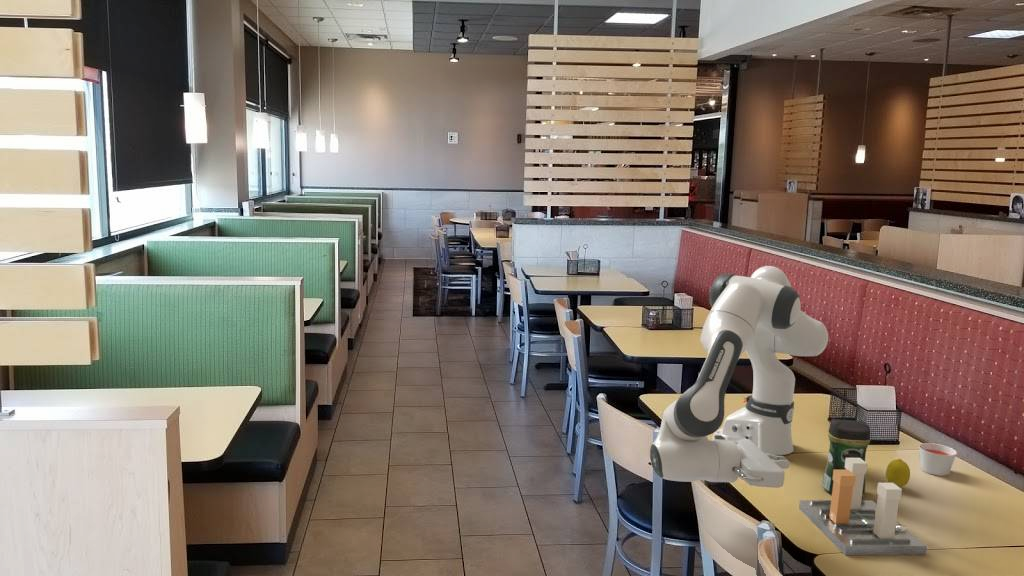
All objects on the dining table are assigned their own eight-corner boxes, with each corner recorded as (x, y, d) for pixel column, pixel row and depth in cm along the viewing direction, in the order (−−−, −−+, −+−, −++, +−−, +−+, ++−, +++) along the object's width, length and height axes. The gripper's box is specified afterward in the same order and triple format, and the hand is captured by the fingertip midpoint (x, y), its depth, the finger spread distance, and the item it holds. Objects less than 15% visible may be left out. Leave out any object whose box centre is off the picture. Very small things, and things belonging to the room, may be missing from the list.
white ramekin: (917, 474, 213) (920, 451, 211) (914, 462, 221) (917, 440, 220) (955, 480, 209) (958, 457, 208) (951, 468, 218) (954, 446, 216)
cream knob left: (847, 509, 183) (853, 463, 181) (840, 503, 187) (845, 457, 185) (861, 509, 184) (867, 463, 182) (853, 503, 187) (859, 457, 185)
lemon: (910, 494, 199) (914, 464, 198) (887, 491, 200) (891, 461, 199) (904, 485, 204) (908, 456, 203) (881, 482, 205) (885, 453, 204)
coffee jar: (857, 486, 203) (866, 417, 199) (867, 499, 195) (876, 427, 192) (818, 483, 204) (826, 414, 200) (826, 496, 196) (835, 424, 193)
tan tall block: (835, 524, 176) (841, 475, 174) (827, 517, 179) (833, 469, 177) (849, 524, 176) (855, 475, 174) (842, 517, 179) (848, 469, 177)
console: (845, 555, 167) (846, 541, 166) (798, 508, 188) (800, 496, 188) (925, 554, 168) (927, 541, 168) (870, 508, 190) (872, 496, 190)
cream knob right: (880, 539, 170) (886, 489, 168) (871, 531, 173) (878, 482, 171) (895, 539, 170) (902, 489, 168) (886, 531, 173) (893, 482, 171)
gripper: (744, 465, 162) (809, 466, 163) (711, 431, 182) (769, 432, 183) (741, 495, 163) (806, 495, 164) (708, 457, 183) (766, 458, 184)
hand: (786, 462), depth 174 cm, fingers closed
